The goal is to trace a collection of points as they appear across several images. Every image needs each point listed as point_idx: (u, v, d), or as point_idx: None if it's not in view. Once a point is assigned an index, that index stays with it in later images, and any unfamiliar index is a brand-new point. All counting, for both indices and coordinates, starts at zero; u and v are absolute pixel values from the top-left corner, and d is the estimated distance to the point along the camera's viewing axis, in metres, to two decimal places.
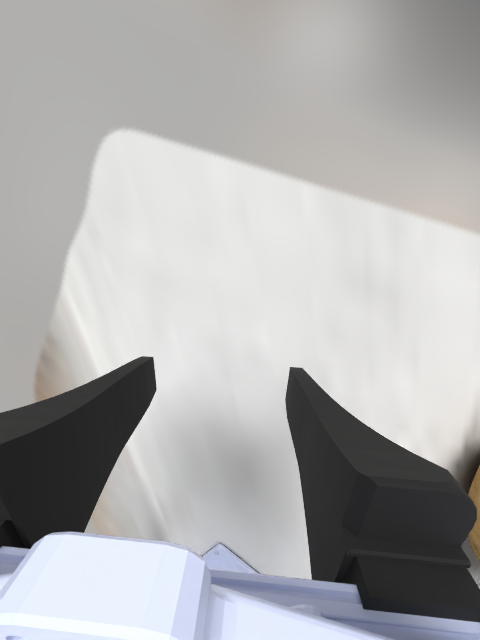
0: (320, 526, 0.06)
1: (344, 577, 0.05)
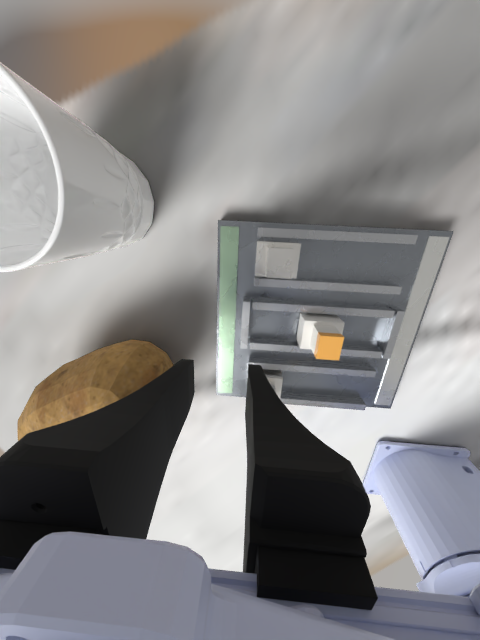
0: (247, 519, 0.07)
1: (254, 567, 0.05)
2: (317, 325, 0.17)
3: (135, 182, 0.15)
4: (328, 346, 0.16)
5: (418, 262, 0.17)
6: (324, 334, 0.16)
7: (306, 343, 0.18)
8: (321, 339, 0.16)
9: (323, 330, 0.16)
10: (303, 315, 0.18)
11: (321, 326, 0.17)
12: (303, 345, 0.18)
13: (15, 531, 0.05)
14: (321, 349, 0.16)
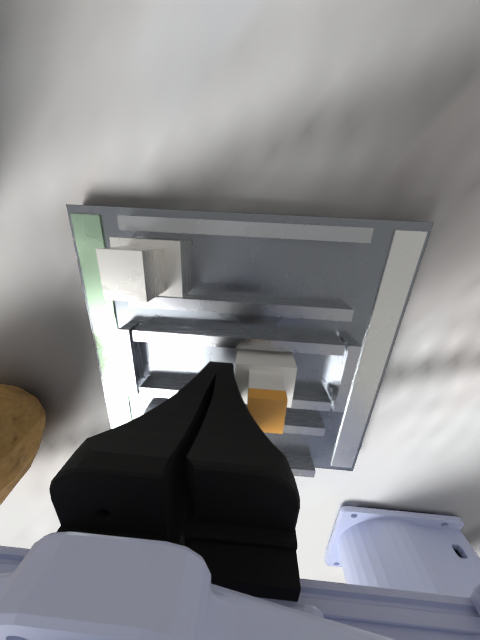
0: None
1: None
2: (255, 370, 0.11)
3: None
4: (262, 413, 0.10)
5: (380, 271, 0.11)
6: (256, 393, 0.09)
7: None
8: (250, 402, 0.09)
9: (259, 383, 0.10)
10: (239, 352, 0.12)
11: (261, 372, 0.11)
12: None
13: None
14: (252, 416, 0.10)
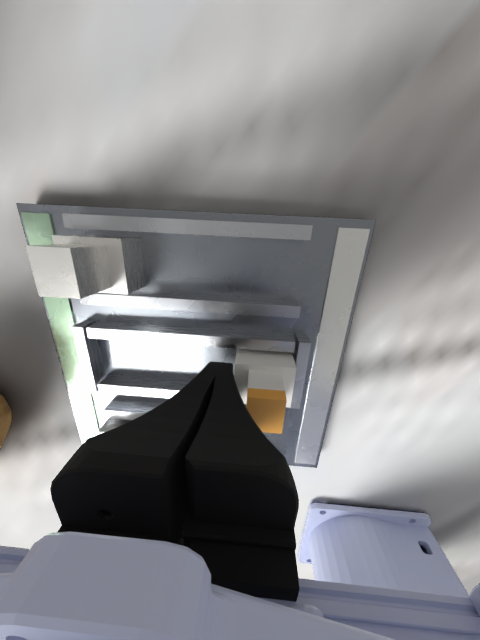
0: None
1: None
2: (255, 370, 0.11)
3: None
4: (262, 413, 0.10)
5: (327, 268, 0.11)
6: (255, 393, 0.10)
7: (241, 396, 0.12)
8: (249, 402, 0.09)
9: (258, 383, 0.10)
10: (239, 352, 0.12)
11: (260, 372, 0.11)
12: None
13: None
14: (251, 416, 0.10)
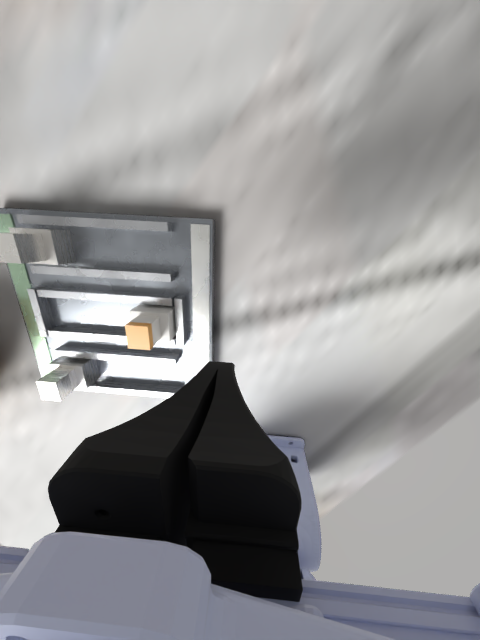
0: None
1: None
2: (142, 315, 0.17)
3: None
4: (135, 336, 0.16)
5: (189, 250, 0.17)
6: (131, 323, 0.16)
7: None
8: (126, 328, 0.16)
9: (138, 320, 0.16)
10: (138, 306, 0.18)
11: (146, 316, 0.17)
12: None
13: None
14: (129, 338, 0.16)
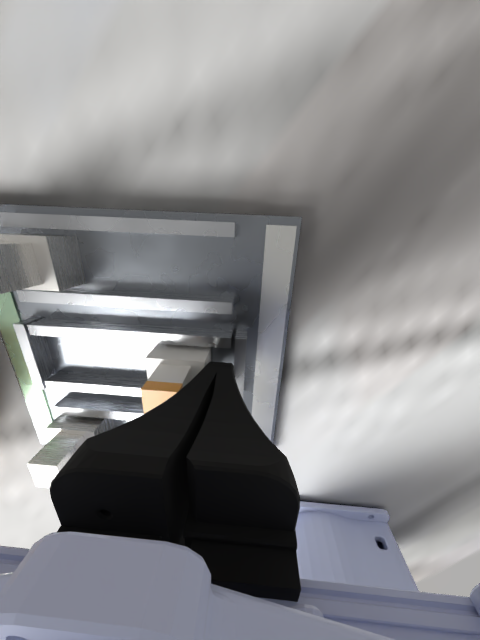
0: None
1: None
2: (165, 364, 0.11)
3: None
4: (157, 405, 0.10)
5: (260, 265, 0.11)
6: (151, 386, 0.10)
7: None
8: (143, 394, 0.10)
9: (160, 376, 0.10)
10: (157, 346, 0.12)
11: (171, 365, 0.11)
12: None
13: None
14: (148, 408, 0.10)
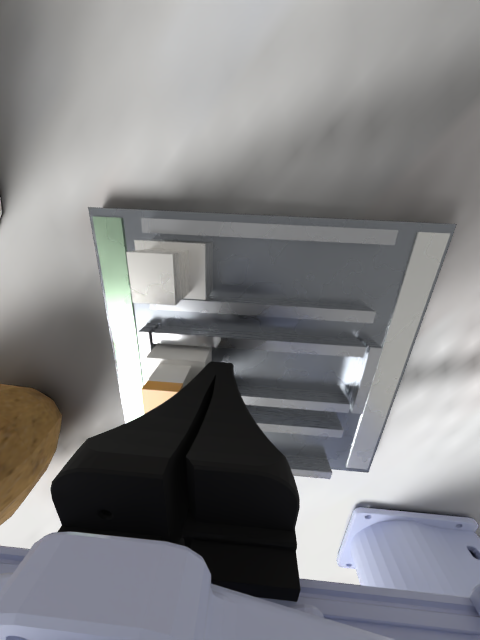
0: None
1: None
2: (165, 364, 0.11)
3: None
4: (157, 405, 0.10)
5: (401, 273, 0.11)
6: (151, 385, 0.10)
7: None
8: (143, 394, 0.10)
9: (161, 376, 0.10)
10: (157, 346, 0.12)
11: (171, 365, 0.11)
12: None
13: None
14: (148, 408, 0.10)
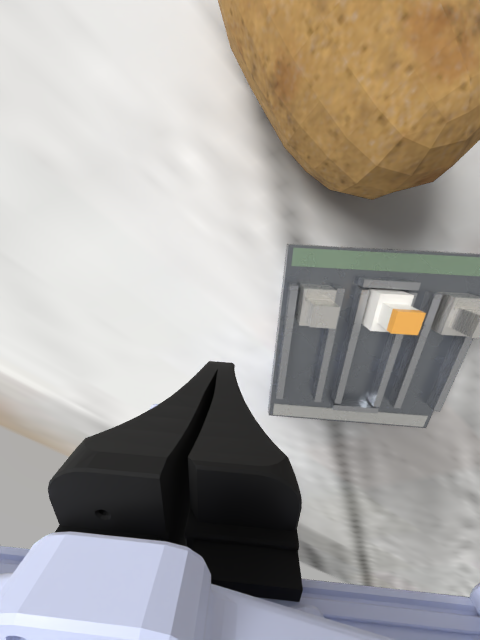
0: None
1: None
2: None
3: None
4: (410, 321, 0.15)
5: (408, 412, 0.23)
6: None
7: (385, 299, 0.17)
8: (421, 314, 0.15)
9: None
10: None
11: None
12: (384, 296, 0.17)
13: None
14: (409, 315, 0.15)
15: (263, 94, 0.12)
